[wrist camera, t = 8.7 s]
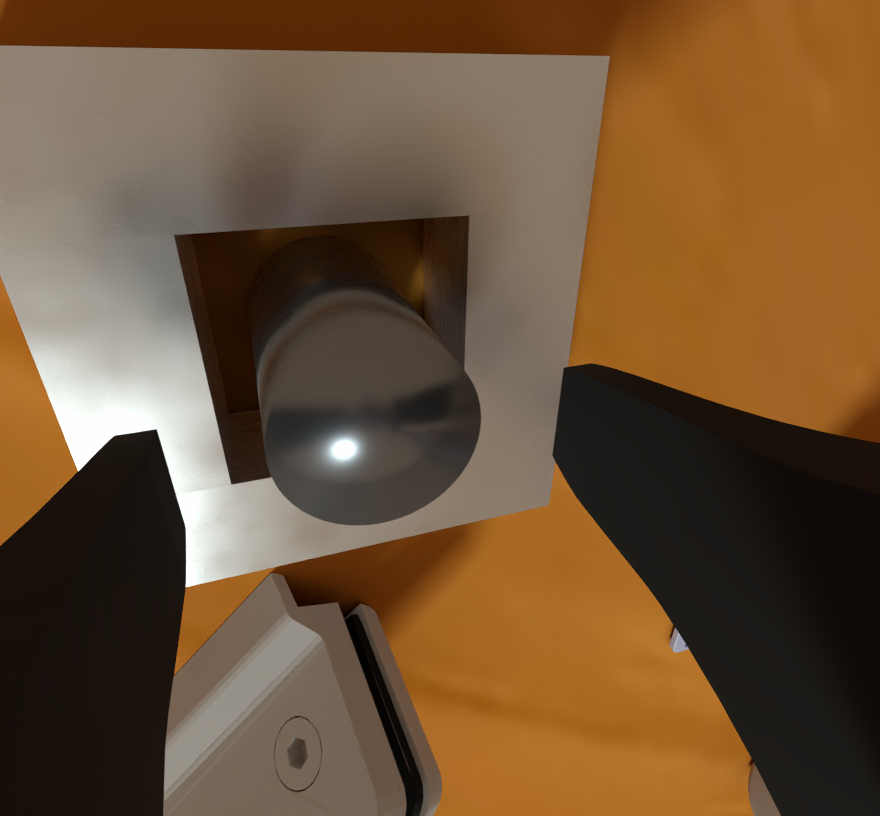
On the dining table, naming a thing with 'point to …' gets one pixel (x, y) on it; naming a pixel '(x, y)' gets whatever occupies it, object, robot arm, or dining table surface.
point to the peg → (354, 387)
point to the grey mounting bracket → (296, 718)
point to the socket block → (280, 206)
